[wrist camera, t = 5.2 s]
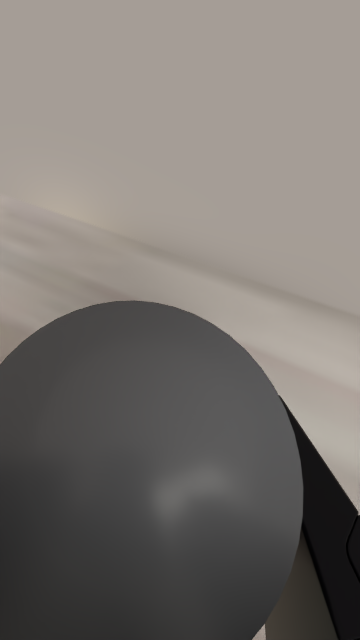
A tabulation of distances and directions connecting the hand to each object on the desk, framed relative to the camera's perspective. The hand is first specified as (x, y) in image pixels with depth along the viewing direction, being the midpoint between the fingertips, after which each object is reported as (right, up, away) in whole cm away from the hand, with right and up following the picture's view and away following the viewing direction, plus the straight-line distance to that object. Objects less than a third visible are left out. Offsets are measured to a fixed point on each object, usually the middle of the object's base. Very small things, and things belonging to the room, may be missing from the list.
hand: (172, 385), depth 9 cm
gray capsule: (0, -3, +6) cm, 7 cm away
